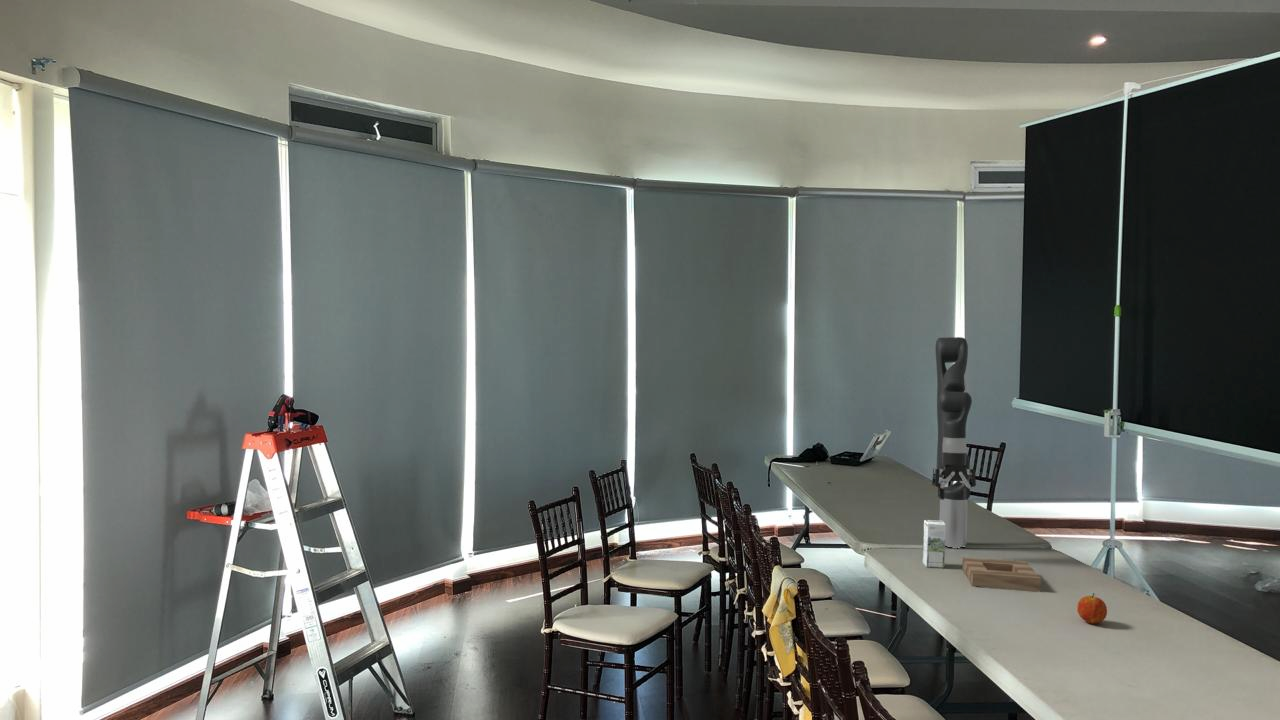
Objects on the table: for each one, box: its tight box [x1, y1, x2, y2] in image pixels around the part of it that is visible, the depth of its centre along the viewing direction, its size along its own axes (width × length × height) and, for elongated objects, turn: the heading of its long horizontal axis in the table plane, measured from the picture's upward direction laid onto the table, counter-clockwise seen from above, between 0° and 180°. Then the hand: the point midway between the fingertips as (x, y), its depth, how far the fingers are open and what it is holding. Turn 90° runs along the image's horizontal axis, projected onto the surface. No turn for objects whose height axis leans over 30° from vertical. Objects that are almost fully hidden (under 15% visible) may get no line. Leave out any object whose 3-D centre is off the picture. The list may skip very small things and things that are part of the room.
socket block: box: [961, 557, 1042, 592], centre depth 269 cm, size 19×19×4 cm
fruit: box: [1076, 592, 1108, 625], centre depth 230 cm, size 7×7×8 cm
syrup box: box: [922, 519, 946, 569], centre depth 284 cm, size 6×6×14 cm
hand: (953, 499), depth 294 cm, fingers open, 8 cm apart
